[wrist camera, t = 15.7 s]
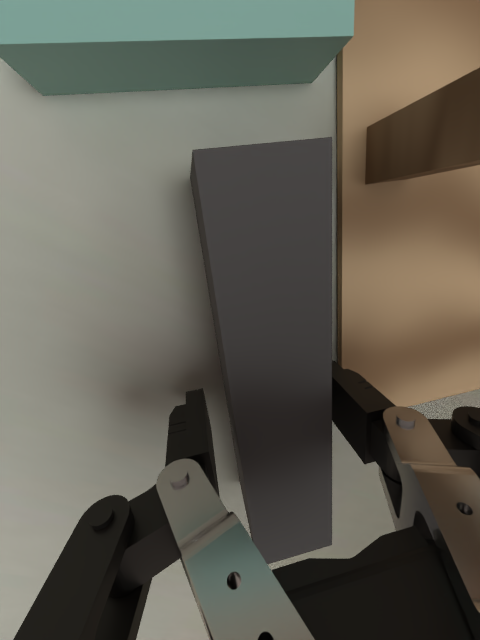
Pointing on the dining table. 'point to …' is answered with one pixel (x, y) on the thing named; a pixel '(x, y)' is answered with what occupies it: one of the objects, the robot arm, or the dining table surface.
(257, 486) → the bar
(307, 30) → the block
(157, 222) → the dining table surface
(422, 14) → the board
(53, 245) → the dining table surface
